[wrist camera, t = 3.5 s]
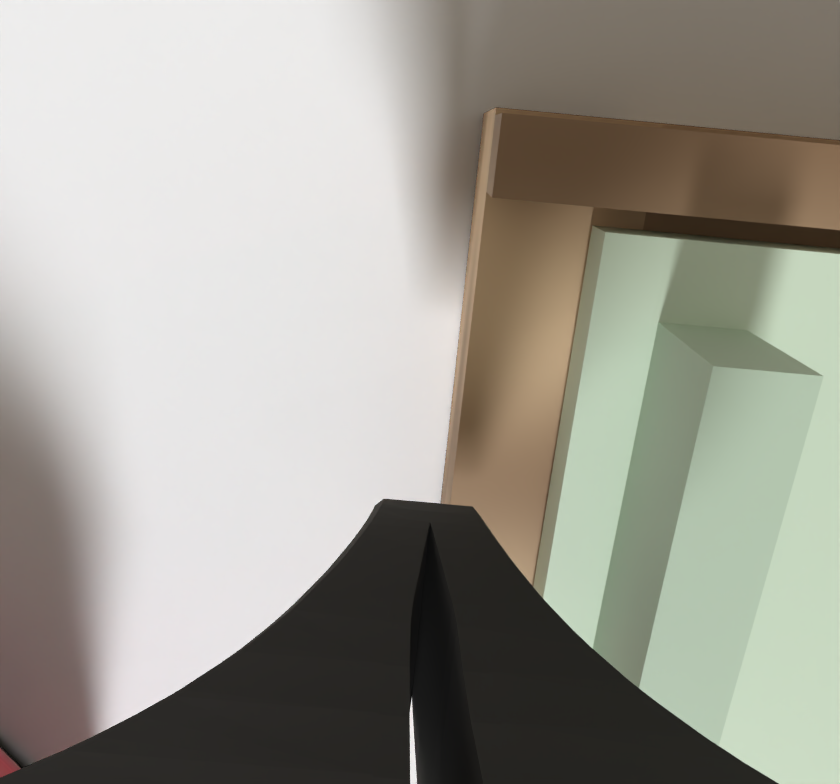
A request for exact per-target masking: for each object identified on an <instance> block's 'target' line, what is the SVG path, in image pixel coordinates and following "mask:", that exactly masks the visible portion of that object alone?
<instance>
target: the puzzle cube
mask: <svg viewBox="0 0 840 784" xmlns="http://www.w3.org/2000/svg"><path fill="white" fill-rule="evenodd" d="M21 768H22V767H21V766H20V765H19V764H18V763H17V762H16V761H15V760H14V759H13V758H12V757H11V756H10V755H9V754H8V753H7V752H6V751H5V750H4V749H3V748H2V747H1V746H0V777H3V776H5V775H7V774H10V773H12V772H14V771H17V770H19V769H21Z"/></svg>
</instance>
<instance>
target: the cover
mask: <svg viewBox="0 0 840 784" xmlns="http://www.w3.org/2000/svg"><path fill="white" fill-rule="evenodd" d="M533 587H534V588H535V590H536V591H537V592H538V593H539V594H540V596H541V597H542V598H543V599H544V600H545V601H546V602H547V603H548V604H549V605H550V607H551V608H552V609H553V610H554V611H555V612H556V613H557V614H558V615H559V616H560V617H561V618H562V619H563V620H564V621H565V622H566V623H567V624H568V625H569V626H570V627H571V629H572V630H573V631H575V632H576V633H577V634H578V635H579V636H580V637H581V638H582V639H583V640H584V641H585V642H586V643H587V644H588V645H589V646H590V647H591V648H592V649H594V650H595V651H596V652H597V653H598V654H599V655H601V656H602V657H603V658H604V659H605V660H606V661H607V662H609V663H610V664H611V665H612V666H613V667H614V668H615V669H617V670H618V671H619V672H620V673H621V674H622V675H623V676H625V677H626V678H627V679H628V680H629V681H631V682H632V683H633V684H634V685H636V686H637V687H638V688H639V689H641V690H642V691H643V692H644V693H646V694H647V695H648V696H650V697H651V698H652V699H653V700H655V701H656V702H657V703H659V704H660V705H662V706H663V707H664V708H666V709H667V710H668V711H670V712H671V713H673V714H674V715H675V716H677V717H678V718H679V719H681V720H682V721H684V722H685V723H686V724H688V725H689V726H691V727H692V728H693V729H695V730H696V731H697V732H699V733H700V734H702V735H703V736H704V737H706V738H707V739H709V740H710V741H712V742H713V743H715V744H717V745H718V746H720V747H721V748H723V749H724V750H726V751H727V752H729V753H730V754H732V755H733V756H735V757H736V758H738V759H739V760H741V761H742V762H744V763H746V764H747V765H749V766H751V767H752V768H754V769H755V770H757V771H759V772H760V773H762V774H764V775H765V776H767V777H769V778H770V779H772V780H774V781H775V782H777V783H779V784H840V248H829V247H819V246H808V245H797V244H787V243H776V242H765V241H754V240H744V239H733V238H722V237H712V236H701V235H690V234H679V233H669V232H658V231H647V230H637V229H626V228H615V227H604V226H594V225H592V230H591V237H590V243H589V249H588V255H587V261H586V267H585V273H584V279H583V285H582V292H581V298H580V304H579V310H578V316H577V322H576V328H575V334H574V340H573V346H572V353H571V359H570V365H569V371H568V377H567V383H566V389H565V395H564V401H563V408H562V414H561V420H560V426H559V432H558V438H557V444H556V450H555V456H554V463H553V469H552V475H551V481H550V487H549V493H548V499H547V505H546V511H545V518H544V524H543V530H542V536H541V542H540V548H539V554H538V560H537V566H536V573H535V579H534V585H533Z"/></svg>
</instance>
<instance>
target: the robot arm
mask: <svg viewBox="0 0 840 784" xmlns="http://www.w3.org/2000/svg"><path fill="white" fill-rule="evenodd" d="M411 698H412V705H413V722H414V739H415V755H416V771H417V784H779V783H777V782H775V781H774V780H772V779H770V778H769V777H767V776H765V775H764V774H762V773H760V772H759V771H757V770H755V769H754V768H752V767H751V766H749V765H747V764H746V763H744V762H742V761H741V760H739V759H738V758H736V757H735V756H733V755H732V754H730V753H729V752H727V751H726V750H724V749H723V748H721V747H720V746H718V745H717V744H715V743H713V742H712V741H710V740H709V739H707V738H706V737H704V736H703V735H702V734H700V733H699V732H697V731H696V730H695V729H693V728H692V727H691V726H689V725H688V724H686V723H685V722H684V721H682V720H681V719H679V718H678V717H677V716H675V715H674V714H673V713H671V712H670V711H668V710H667V709H666V708H664V707H663V706H662V705H660V704H659V703H657V702H656V701H655V700H653V699H652V698H651V697H650V696H648V695H647V694H646V693H644V692H643V691H642V690H641V689H639V688H638V687H637V686H636V685H634V684H633V683H632V682H631V681H629V680H628V679H627V678H626V677H625V676H623V675H622V674H621V673H620V672H619V671H618V670H617V669H615V668H614V667H613V666H612V665H611V664H610V663H609V662H607V661H606V660H605V659H604V658H603V657H602V656H601V655H599V654H598V653H597V652H596V651H595V650H594V649H592V648H591V647H590V646H589V645H588V644H587V643H586V642H585V641H584V640H583V639H582V638H581V637H580V636H579V635H578V634H577V633H576V632H575V631H573V630H572V629H571V627H570V626H569V625H568V624H567V623H566V622H565V621H564V620H563V619H562V618H561V617H560V616H559V615H558V614H557V613H556V612H555V611H554V610H553V609H552V608H551V607H550V605H549V604H548V603H547V602H546V601H545V600H544V599H543V598H542V597H541V596H540V594H539V593H538V592H537V591H536V590H535V588H534V587H533V586H532V585H531V583H530V582H529V581H528V580H527V579H526V577H525V576H524V575H523V574H522V572H521V571H520V570H519V569H518V567H517V566H516V565H515V564H514V562H513V561H512V560H511V558H510V557H509V556H508V554H507V553H506V552H505V550H504V549H503V548H502V546H501V545H500V543H499V542H498V541H497V539H496V538H495V536H494V535H493V534H492V532H491V531H490V529H489V528H488V526H487V525H486V524H485V522H484V521H483V519H482V518H481V516H480V515H479V514H478V512H477V511H476V510H475V509H474V507H473V506H462V505H450V504H439V503H427V502H415V501H403V500H392V499H383V500H382V501H380V502H379V503H378V504H377V505H375V507H374V509H373V511H372V513H371V514H370V516H369V518H368V519H367V521H366V522H365V524H364V525H363V527H362V528H361V530H360V531H359V532H358V534H357V535H356V536H355V538H354V539H353V540H352V542H351V543H350V544H349V545H348V546H347V548H346V549H345V550H344V551H343V552H342V554H341V555H340V556H339V557H338V558H337V560H336V561H335V562H334V563H333V564H332V565H331V567H330V568H329V569H328V570H327V571H326V572H325V573H324V574H323V575H322V576H321V577H320V578H319V580H318V581H317V582H316V583H315V584H314V585H313V586H312V587H311V588H310V589H309V590H308V591H307V592H306V593H305V594H304V595H303V596H302V597H301V598H300V599H299V600H298V601H297V602H296V603H295V604H294V605H293V606H291V607H290V608H289V609H288V610H287V611H286V612H285V613H284V614H283V615H281V616H280V617H279V618H278V619H277V620H276V621H275V622H273V623H272V624H271V625H270V626H269V627H268V628H266V629H265V630H264V631H263V632H261V633H260V634H259V635H258V636H256V637H255V638H254V639H253V640H251V641H250V642H249V643H248V644H246V645H245V646H244V647H243V648H241V649H240V650H239V651H237V652H236V653H234V654H233V655H232V656H230V657H229V658H227V659H226V660H224V661H223V662H222V663H220V664H219V665H217V666H216V667H214V668H213V669H211V670H209V671H208V672H206V673H205V674H203V675H202V676H200V677H199V678H197V679H196V680H194V681H193V682H191V683H190V684H188V685H186V686H185V687H183V688H182V689H180V690H179V691H177V692H175V693H174V694H172V695H170V696H168V697H167V698H165V699H163V700H161V701H159V702H158V703H156V704H154V705H152V706H150V707H149V708H147V709H145V710H143V711H142V712H140V713H138V714H136V715H134V716H132V717H130V718H128V719H126V720H124V721H123V722H121V723H119V724H117V725H115V726H113V727H111V728H109V729H107V730H105V731H103V732H101V733H99V734H97V735H95V736H93V737H91V738H89V739H87V740H85V741H83V742H81V743H78V744H76V745H74V746H72V747H70V748H68V749H66V750H64V751H61V752H59V753H57V754H54V755H52V756H50V757H47V758H45V759H43V760H40V761H38V762H36V763H33V764H31V765H29V766H26V767H24V768H21V769H19V770H17V771H14V772H12V773H10V774H7V775H5V776H3V777H0V784H410V725H409V712H410V705H411Z"/></svg>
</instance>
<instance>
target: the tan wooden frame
mask: <svg viewBox="0 0 840 784" xmlns="http://www.w3.org/2000/svg"><path fill="white" fill-rule="evenodd" d="M592 225H594V226H604V227H615V228H626V229H637V230H647V231H658V232H669V233H679V234H690V235H701V236H712V237H722V238H733V239H744V240H754V241H765V242H776V243H787V244H797V245H808V246H819V247H829V248H840V140H831V139H821V138H810V137H800V136H789V135H779V134H768V133H758V132H748V131H737V130H727V129H716V128H706V127H695V126H685V125H674V124H664V123H654V122H643V121H633V120H622V119H612V118H601V117H591V116H581V115H570V114H560V113H549V112H539V111H528V110H518V109H508V108H497V107H496V108H494V109H492V110H490V111H488V112H486V113H484V115H483V124H482V133H481V142H480V151H479V160H478V169H477V178H476V187H475V196H474V206H473V215H472V224H471V233H470V242H469V251H468V260H467V269H466V278H465V287H464V296H463V305H462V314H461V323H460V332H459V341H458V350H457V359H456V368H455V377H454V386H453V396H452V405H451V414H450V423H449V432H448V441H447V450H446V459H445V468H444V477H443V486H442V495H441V504H450V505H462V506H473V507H474V509H475V510H476V511H477V512H478V514H479V515H480V516H481V518H482V519H483V521H484V522H485V524H486V525H487V526H488V528H489V529H490V531H491V532H492V534H493V535H494V536H495V538H496V539H497V541H498V542H499V543H500V545H501V546H502V548H503V549H504V550H505V552H506V553H507V554H508V556H509V557H510V558H511V560H512V561H513V562H514V564H515V565H516V566H517V567H518V569H519V570H520V571H521V572H522V574H523V575H524V576H525V577H526V579H527V580H528V581H529V582H530V583H531V585H532V586H533V585H534V579H535V573H536V566H537V560H538V554H539V548H540V542H541V536H542V530H543V524H544V518H545V511H546V505H547V499H548V493H549V487H550V481H551V475H552V469H553V463H554V456H555V450H556V444H557V438H558V432H559V426H560V420H561V414H562V408H563V401H564V395H565V389H566V383H567V377H568V371H569V365H570V359H571V353H572V346H573V340H574V334H575V328H576V322H577V316H578V310H579V304H580V298H581V292H582V285H583V279H584V273H585V267H586V261H587V255H588V249H589V243H590V237H591V230H592Z"/></svg>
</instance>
